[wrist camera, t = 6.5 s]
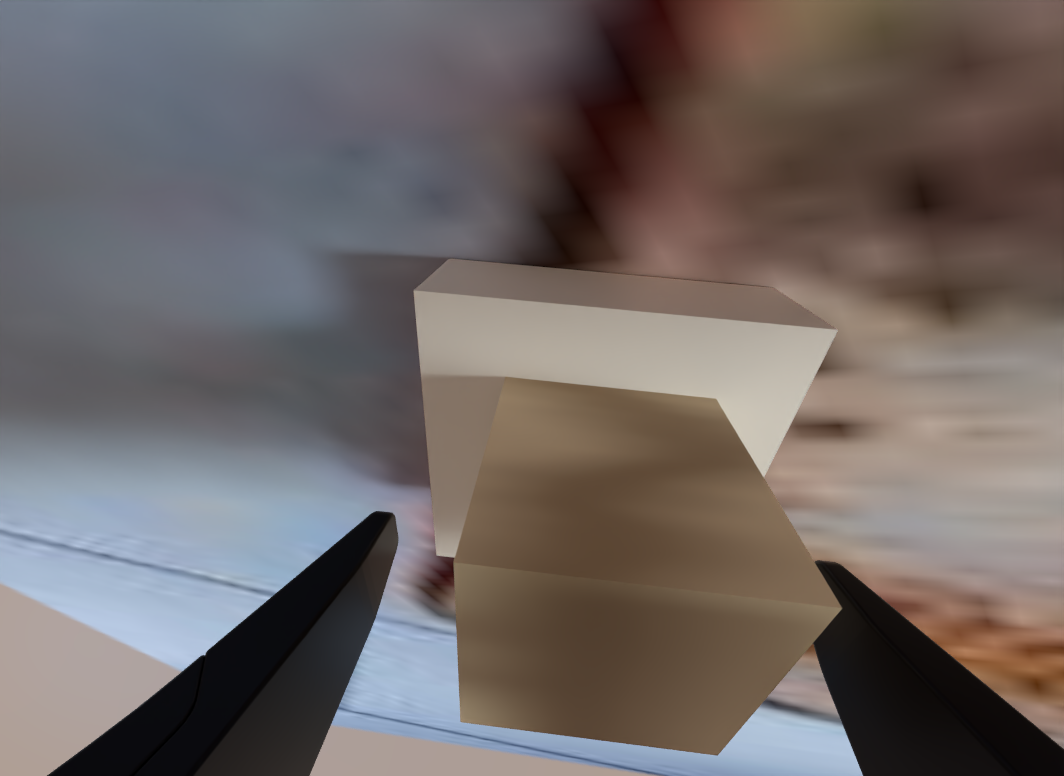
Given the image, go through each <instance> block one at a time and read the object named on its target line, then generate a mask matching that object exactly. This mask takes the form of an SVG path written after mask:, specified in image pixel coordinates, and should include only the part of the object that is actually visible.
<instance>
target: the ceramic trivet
mask: <svg viewBox="0 0 1064 776" xmlns="http://www.w3.org/2000/svg"><path fill="white" fill-rule="evenodd" d="M413 291H414V302H415V314H416V325H417V337H418V348H419V360H420V371H421V383H422V394H423V406H424V417H425V428H426V440H427V451H428V463H429V474H430V486H431V497H432V509H433V520H434V532H435V543H436V555H438V556H446V557H455V556H456V552H457V549H458V545H459V541H460V538H461V534H462V531H463V527H464V523H465V520H466V516H467V513H468V509H469V506H470V502H471V498H472V495H473V491H474V488H475V484H476V480H477V477H478V473H479V470H480V466H481V463H482V459H483V455H484V452H485V448H486V445H487V441H488V438H489V434H490V430H491V427H492V423H493V420H494V416H495V412H496V409H497V405H498V402H499V398H500V395H501V391H502V387H503V384H504V380H505V377H513V378H523V379H532V380H542V381H552V382H561V383H571V384H580V385H590V386H599V387H609V388H619V389H628V390H638V391H647V392H657V393H666V394H676V395H686V396H695V397H705V398H714V399H717V401H718V403H719V404H720V406H721V408H722V409H723V411H724V413H725V414H726V416H727V418H728V419H729V421H730V423H731V424H732V426H733V428H734V429H735V431H736V433H737V434H738V436H739V438H740V439H741V441H742V443H743V444H744V446H745V448H746V449H747V451H748V453H749V454H750V456H751V458H752V459H753V461H754V463H755V464H756V466H757V468H758V469H759V471H760V473H761V474H762V476H763V477H764V476H765V474H766V472H767V470H768V468H769V466H770V464H771V462H772V460H773V458H774V456H775V454H776V452H777V450H778V448H779V446H780V444H781V442H782V440H783V438H784V436H785V434H786V432H787V430H788V428H789V426H790V424H791V422H792V421H793V419H794V417H795V415H796V413H797V411H798V409H799V407H800V405H801V403H802V401H803V399H804V397H805V395H806V393H807V391H808V389H809V387H810V385H811V383H812V381H813V379H814V377H815V375H816V373H817V371H818V369H819V367H820V365H821V363H822V361H823V359H824V357H825V355H826V353H827V351H828V349H829V347H830V345H831V343H832V341H833V339H834V337H835V335H836V333H837V331H838V329H836V328H834V327H833V326H831V325H830V324H828V323H827V322H825V321H824V320H822V319H821V318H819V317H818V316H816V315H815V314H813V313H812V312H810V311H809V310H807V309H806V308H804V307H802V306H801V305H799V304H798V303H796V302H795V301H793V300H792V299H790V298H789V297H787V296H786V295H784V294H783V293H781V292H780V291H778V290H777V289H775V288H771V287H759V286H748V285H737V284H726V283H715V282H704V281H693V280H682V279H671V278H660V277H649V276H638V275H627V274H615V273H604V272H593V271H582V270H571V269H560V268H549V267H538V266H527V265H516V264H505V263H494V262H483V261H472V260H460V259H448V260H447V261H446V262H445V263H444V264H443V265H441V266H440V267H439V268H438V269H437V270H436V271H435V272H434V273H432V274H431V275H430V276H429V277H428V278H427V279H426V280H425V281H423V282H422V283H421V284H420V285H419V286H418V287H417V288H416V289H414V290H413Z"/></svg>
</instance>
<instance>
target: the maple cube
mask: <svg viewBox="0 0 1064 776" xmlns="http://www.w3.org/2000/svg"><path fill="white" fill-rule="evenodd" d="M454 582H455V605H456V628H457V651H458V674H459V697H460V720H461V722H464V723H472V724H479V725H487V726H495V727H502V728H510V729H518V730H526V731H533V732H541V733H549V734H556V735H564V736H572V737H579V738H587V739H595V740H602V741H610V742H618V743H626V744H633V745H641V746H649V747H656V748H664V749H672V750H679V751H687V752H695V753H702V754H710V755H718V754H719V753H720V752H721V751H722V750H723V748H724V747H725V746H726V745H727V744H728V743H729V741H730V740H731V739H732V738H733V737H734V736H735V734H736V733H737V732H738V731H739V730H740V728H741V727H742V726H743V725H744V724H745V723H746V721H747V720H748V719H749V718H750V717H751V715H752V714H753V713H754V712H755V711H756V710H757V708H758V707H759V706H760V705H761V704H762V702H763V701H764V700H765V699H766V698H767V697H768V695H769V694H770V693H771V692H772V691H773V690H774V688H775V687H776V686H777V685H778V684H779V682H780V681H781V680H782V679H783V678H784V677H785V675H786V674H787V673H788V672H789V671H790V669H791V668H792V667H793V666H794V665H795V664H796V662H797V661H798V660H799V659H800V658H801V657H802V655H803V654H804V653H805V652H806V651H807V649H808V648H809V647H810V646H811V645H812V644H813V642H814V641H815V640H816V639H817V638H818V636H819V635H820V634H821V633H822V632H823V631H824V629H825V628H826V627H827V626H828V625H829V623H830V622H831V621H832V620H833V619H834V618H835V616H836V615H837V614H838V613H839V612H840V611H841V609H842V607H841V605H840V604H839V602H838V600H837V599H836V597H835V595H834V594H833V592H832V590H831V589H830V587H829V585H828V584H827V582H826V581H825V579H824V577H823V576H822V574H821V572H820V571H819V569H818V567H817V566H816V564H815V562H814V561H813V559H812V557H811V556H810V554H809V552H808V551H807V549H806V547H805V546H804V544H803V542H802V541H801V539H800V537H799V536H798V534H797V532H796V531H795V529H794V527H793V526H792V524H791V522H790V521H789V519H788V517H787V516H786V514H785V512H784V511H783V509H782V507H781V506H780V504H779V502H778V501H777V499H776V497H775V496H774V494H773V492H772V491H771V489H770V487H769V486H768V484H767V482H766V481H765V479H764V477H763V476H762V474H761V473H760V471H759V469H758V468H757V466H756V464H755V463H754V461H753V459H752V458H751V456H750V454H749V453H748V451H747V449H746V448H745V446H744V444H743V443H742V441H741V439H740V438H739V436H738V434H737V433H736V431H735V429H734V428H733V426H732V424H731V423H730V421H729V419H728V418H727V416H726V414H725V413H724V411H723V409H722V408H721V406H720V404H719V403H718V401H717V399H714V398H705V397H695V396H686V395H676V394H666V393H657V392H647V391H638V390H628V389H619V388H609V387H599V386H590V385H580V384H571V383H561V382H552V381H542V380H532V379H523V378H513V377H505V380H504V384H503V387H502V391H501V395H500V398H499V402H498V405H497V409H496V412H495V416H494V420H493V423H492V427H491V430H490V434H489V438H488V441H487V445H486V448H485V452H484V455H483V459H482V463H481V466H480V470H479V473H478V477H477V480H476V484H475V488H474V491H473V495H472V498H471V502H470V506H469V509H468V513H467V516H466V520H465V523H464V527H463V531H462V534H461V538H460V541H459V545H458V549H457V552H456V556H455V559H454Z"/></svg>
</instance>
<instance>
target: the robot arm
mask: <svg viewBox="0 0 1064 776" xmlns="http://www.w3.org/2000/svg"><path fill="white" fill-rule="evenodd" d="M397 546H398V532H397V526H396V519H395V515H394V514H393V513H391V512H382V511H376V512H373V513H372V514H370V515H369V516H368V517H367V518H366V519H364V520H363V521H362V522H361V523H360V524H358V525H357V526H356V527H355V528H354V529H352V530H351V531H350V532H349V533H348V534H346V535H345V536H344V537H343V538H342V539H340V540H339V541H338V542H337V543H336V544H334V545H333V546H332V547H331V548H330V549H328V550H327V551H326V552H325V553H324V554H322V555H321V556H320V557H319V558H318V559H317V560H315V561H314V562H313V563H312V564H311V565H309V566H308V567H307V568H306V569H305V570H303V571H302V572H301V573H300V574H299V575H297V576H296V577H295V578H294V579H293V580H291V581H290V582H289V583H288V584H287V585H285V586H284V587H283V588H282V589H281V590H279V591H278V592H277V593H276V594H275V595H273V596H272V597H271V598H270V599H269V600H267V601H266V602H265V603H264V604H263V605H262V606H260V607H259V608H258V609H257V610H256V611H254V612H253V613H252V614H251V615H250V616H248V617H247V618H246V619H245V620H244V621H242V622H241V623H240V624H239V625H238V626H236V627H235V628H234V629H233V630H232V631H230V632H229V633H228V634H227V635H226V636H224V637H223V638H222V639H221V640H220V641H218V642H217V643H216V644H215V645H214V646H212V647H211V648H210V649H209V650H208V651H207V652H206V655H202V656H200V657H199V658H198V659H197V660H195V661H194V662H193V663H192V664H191V665H190V666H188V667H187V668H186V669H185V670H184V671H182V672H181V673H180V674H179V675H178V676H176V677H175V678H174V679H173V680H172V681H170V682H169V683H168V684H167V685H165V686H164V687H163V688H161V689H160V690H159V691H158V692H157V693H155V694H154V695H153V696H152V697H150V698H149V699H148V700H147V701H145V702H144V703H143V704H142V705H140V706H139V707H138V708H137V709H135V710H134V711H133V712H131V713H130V714H129V715H127V716H126V717H125V718H124V719H122V720H121V721H120V722H118V723H117V724H116V725H114V726H113V727H112V728H110V729H109V730H108V731H106V732H105V733H104V734H103V735H101V736H100V737H99V738H97V739H96V740H95V741H93V742H92V743H91V744H89V745H88V746H87V747H85V748H84V749H82V750H81V751H80V752H78V753H77V754H76V755H74V756H73V757H72V758H70V759H69V760H68V761H66V762H65V763H64V764H62V765H61V766H60V767H58V768H57V769H55V770H54V771H53V772H51V773H50V774H49V775H47V776H309V775H310V773H311V771H312V768H313V766H314V763H315V761H316V759H317V756H318V754H319V752H320V749H321V747H322V745H323V742H324V740H325V737H326V735H327V733H328V730H329V728H330V726H331V723H332V721H333V718H334V716H335V714H336V711H337V709H338V707H339V704H340V702H341V699H342V697H343V695H344V692H345V690H346V688H347V685H348V683H349V680H350V678H351V676H352V673H353V671H354V669H355V666H356V664H357V661H358V659H359V657H360V654H361V652H362V650H363V647H364V645H365V642H366V640H367V638H368V635H369V633H370V631H371V628H372V625H373V623H374V620H375V618H376V615H377V611H378V608H379V605H380V602H381V599H382V595H383V592H384V589H385V586H386V582H387V579H388V576H389V573H390V569H391V566H392V563H393V560H394V556H395V553H396V550H397ZM815 564H816V566H817V567H818V569H819V571H820V572H821V574H822V576H823V577H824V579H825V581H826V582H827V584H828V585H829V587H830V589H831V590H832V592H833V594H834V595H835V597H836V599H837V600H838V602H839V604H840V605H841V607H842V609H841V611H840V612H839V613H838V614H837V615H836V616H835V618H834V619H833V620H832V621H831V622H830V623H829V625H828V626H827V627H826V628H825V629H824V631H823V632H822V633H821V634H820V635H819V636H818V638H817V639H816V640H815V641H814V642H813V644H814V647H815V651H816V654H817V657H818V661H819V664H820V667H821V670H822V673H823V676H824V678H825V681H826V684H827V686H828V689H829V691H830V694H831V696H832V699H833V701H834V704H835V706H836V709H837V711H838V714H839V716H840V719H841V721H842V724H843V726H844V729H845V731H846V734H847V736H848V739H849V741H850V744H851V746H852V749H853V751H854V754H855V756H856V759H857V761H858V764H859V766H860V769H861V771H862V774H863V776H1064V749H1063V748H1062V747H1061V746H1059V745H1058V744H1057V743H1056V742H1055V741H1053V740H1052V739H1051V738H1050V737H1048V736H1047V735H1046V734H1045V733H1044V732H1042V731H1041V730H1040V729H1039V728H1038V727H1036V726H1035V725H1034V724H1033V723H1032V722H1030V721H1029V720H1028V719H1027V718H1026V717H1024V716H1023V715H1022V714H1021V713H1019V712H1018V711H1017V710H1016V709H1015V708H1013V707H1012V706H1011V705H1010V704H1009V703H1007V702H1006V701H1005V700H1004V699H1003V698H1001V697H1000V696H999V695H998V694H997V693H995V692H994V691H993V690H992V689H990V688H989V687H988V686H987V685H986V684H984V683H983V682H982V681H981V680H980V679H978V678H977V677H976V676H975V675H974V674H972V673H971V672H970V671H969V670H968V669H966V668H965V667H964V666H963V665H961V664H960V663H959V662H958V661H957V660H955V659H954V658H953V657H952V656H951V655H949V654H948V653H947V652H946V651H945V650H943V649H942V648H941V647H940V646H939V645H937V644H936V643H935V642H934V641H933V640H931V639H930V638H929V637H928V636H926V635H925V634H924V633H923V632H922V631H920V630H919V629H918V628H917V627H916V626H914V625H913V624H912V623H911V622H910V621H908V620H907V619H906V618H905V617H904V616H902V615H901V614H900V613H899V612H897V611H896V610H895V609H894V608H893V607H891V606H890V605H889V604H888V603H887V602H885V601H884V600H883V599H882V598H881V597H879V596H878V595H877V594H876V593H875V592H873V591H872V590H871V589H870V588H868V587H867V586H866V585H865V584H864V583H862V582H861V581H860V580H859V579H858V578H856V577H855V576H854V575H853V574H852V573H850V572H849V571H848V570H847V569H846V568H844V567H843V566H842V565H840V564H838V563H836V562H830V561H821V560H817V561H815Z"/></svg>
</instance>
